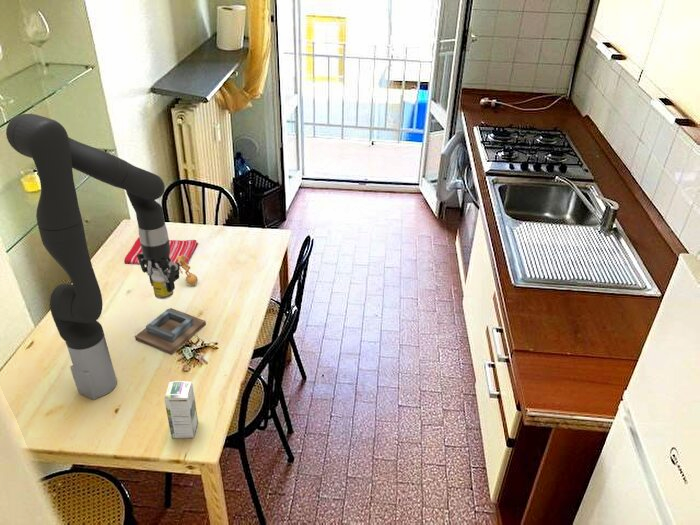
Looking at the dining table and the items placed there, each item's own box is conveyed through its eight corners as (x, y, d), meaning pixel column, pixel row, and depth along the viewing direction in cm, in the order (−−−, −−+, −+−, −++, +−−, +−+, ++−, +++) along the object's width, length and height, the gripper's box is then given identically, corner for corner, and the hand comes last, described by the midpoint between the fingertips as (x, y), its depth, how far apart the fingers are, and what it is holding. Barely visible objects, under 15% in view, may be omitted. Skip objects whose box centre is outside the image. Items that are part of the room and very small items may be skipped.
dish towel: (139, 241, 222) (138, 235, 220) (199, 244, 222) (198, 238, 220) (123, 265, 208) (121, 259, 206) (187, 268, 207) (186, 262, 206)
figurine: (194, 291, 194) (189, 262, 188) (177, 290, 195) (172, 261, 188) (201, 278, 201) (197, 249, 195) (185, 276, 202) (180, 248, 195)
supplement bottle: (151, 294, 168) (145, 266, 163) (167, 287, 171) (162, 259, 166) (161, 302, 165) (155, 274, 160) (177, 294, 168) (172, 267, 163)
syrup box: (176, 421, 147) (167, 380, 139) (199, 420, 147) (192, 380, 139) (171, 438, 142) (162, 398, 134) (195, 438, 143) (187, 397, 135)
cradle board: (171, 354, 168) (169, 344, 166) (135, 340, 173) (133, 329, 171) (205, 324, 180) (204, 314, 178) (171, 311, 185) (169, 301, 183)
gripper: (124, 237, 157) (135, 287, 167) (164, 251, 152) (173, 301, 161) (144, 226, 163) (153, 275, 172) (183, 239, 158) (190, 288, 167)
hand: (163, 287), depth 167 cm, fingers closed on supplement bottle, 5 cm apart
